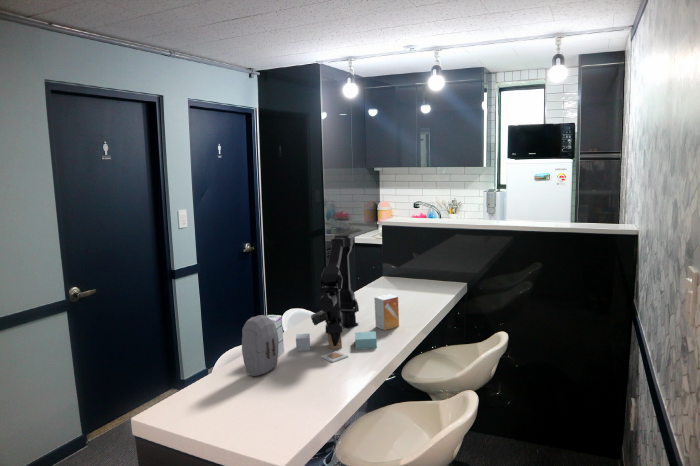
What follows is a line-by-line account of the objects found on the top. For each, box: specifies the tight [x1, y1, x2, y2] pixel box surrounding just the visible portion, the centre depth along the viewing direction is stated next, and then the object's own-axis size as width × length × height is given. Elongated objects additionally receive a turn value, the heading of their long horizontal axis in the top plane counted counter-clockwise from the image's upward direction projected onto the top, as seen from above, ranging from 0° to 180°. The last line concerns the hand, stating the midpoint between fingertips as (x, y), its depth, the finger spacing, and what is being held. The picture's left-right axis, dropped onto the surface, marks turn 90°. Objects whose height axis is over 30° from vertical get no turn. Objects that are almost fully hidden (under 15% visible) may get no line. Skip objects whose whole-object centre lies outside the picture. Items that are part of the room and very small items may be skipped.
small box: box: [374, 293, 400, 331], centre depth 215 cm, size 8×6×13 cm
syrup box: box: [266, 314, 285, 358], centre depth 191 cm, size 6×6×14 cm
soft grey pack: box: [241, 314, 279, 377], centre depth 174 cm, size 15×8×20 cm, turn 150°
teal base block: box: [354, 330, 378, 350], centre depth 196 cm, size 8×8×4 cm
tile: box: [321, 350, 349, 363], centre depth 186 cm, size 7×7×1 cm
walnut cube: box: [327, 333, 343, 350], centre depth 197 cm, size 5×5×5 cm
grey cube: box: [295, 333, 311, 352], centre depth 196 cm, size 5×5×5 cm
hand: (335, 343), depth 197 cm, fingers closed on walnut cube, 5 cm apart
